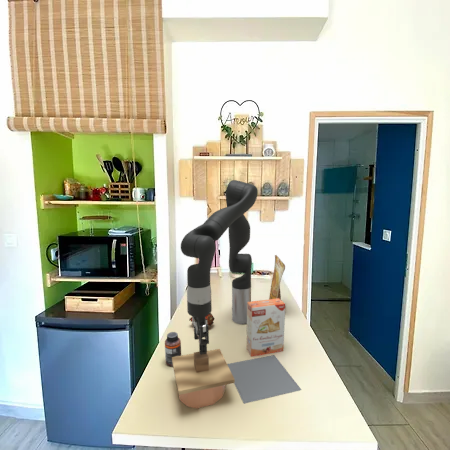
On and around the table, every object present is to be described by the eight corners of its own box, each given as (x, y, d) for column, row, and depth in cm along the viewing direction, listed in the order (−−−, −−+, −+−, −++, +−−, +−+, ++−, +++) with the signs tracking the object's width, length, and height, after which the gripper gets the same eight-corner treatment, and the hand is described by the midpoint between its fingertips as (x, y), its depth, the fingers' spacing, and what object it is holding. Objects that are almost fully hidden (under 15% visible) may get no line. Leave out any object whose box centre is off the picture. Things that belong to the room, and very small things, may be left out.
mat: (225, 365, 108) (225, 364, 108) (274, 356, 114) (274, 354, 114) (243, 405, 89) (243, 403, 89) (301, 391, 95) (301, 389, 95)
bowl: (175, 380, 101) (175, 361, 100) (217, 371, 105) (217, 354, 104) (182, 413, 86) (181, 392, 85) (230, 402, 91) (230, 381, 90)
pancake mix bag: (279, 302, 163) (281, 254, 158) (284, 319, 144) (285, 264, 140) (267, 302, 163) (268, 253, 159) (270, 318, 144) (271, 264, 140)
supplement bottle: (174, 355, 115) (173, 328, 113) (184, 361, 111) (184, 333, 109) (162, 362, 110) (161, 335, 108) (172, 369, 107) (171, 340, 105)
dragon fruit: (216, 331, 136) (191, 333, 137) (216, 314, 142) (192, 317, 143) (212, 322, 130) (186, 325, 131) (212, 305, 136) (188, 308, 137)
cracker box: (251, 358, 112) (251, 307, 109) (246, 350, 118) (246, 301, 115) (284, 352, 116) (285, 303, 113) (277, 344, 122) (278, 297, 118)
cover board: (171, 360, 100) (171, 345, 99) (219, 351, 105) (219, 337, 104) (178, 395, 84) (178, 377, 83) (234, 382, 89) (234, 365, 88)
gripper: (183, 290, 96) (185, 336, 99) (191, 309, 83) (192, 361, 85) (206, 288, 98) (206, 332, 101) (216, 306, 85) (217, 356, 88)
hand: (200, 345), depth 93 cm, fingers open, 8 cm apart
